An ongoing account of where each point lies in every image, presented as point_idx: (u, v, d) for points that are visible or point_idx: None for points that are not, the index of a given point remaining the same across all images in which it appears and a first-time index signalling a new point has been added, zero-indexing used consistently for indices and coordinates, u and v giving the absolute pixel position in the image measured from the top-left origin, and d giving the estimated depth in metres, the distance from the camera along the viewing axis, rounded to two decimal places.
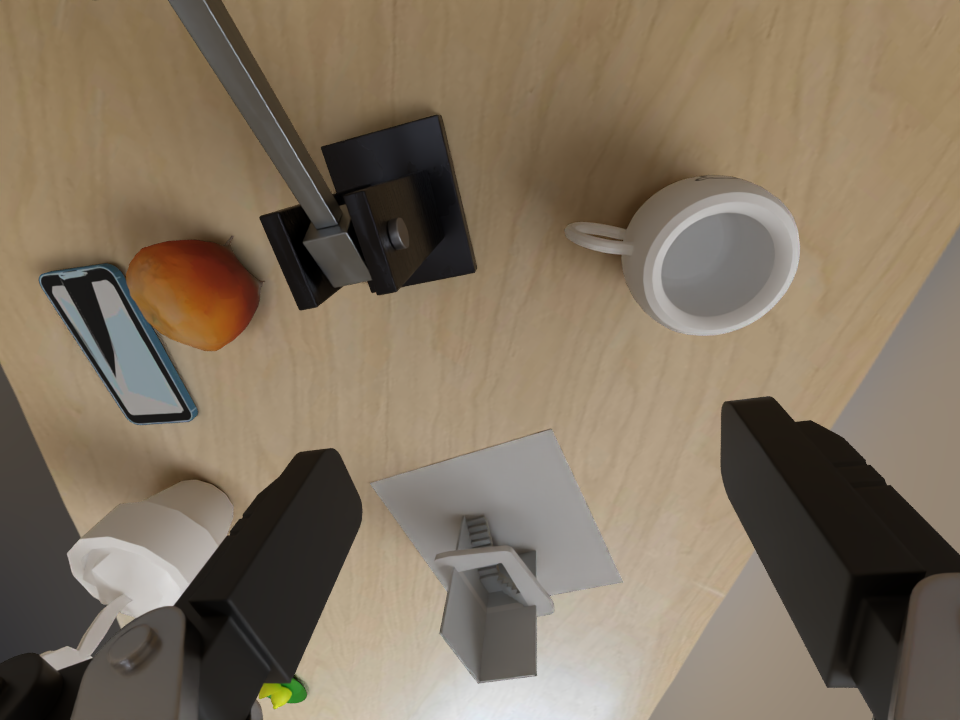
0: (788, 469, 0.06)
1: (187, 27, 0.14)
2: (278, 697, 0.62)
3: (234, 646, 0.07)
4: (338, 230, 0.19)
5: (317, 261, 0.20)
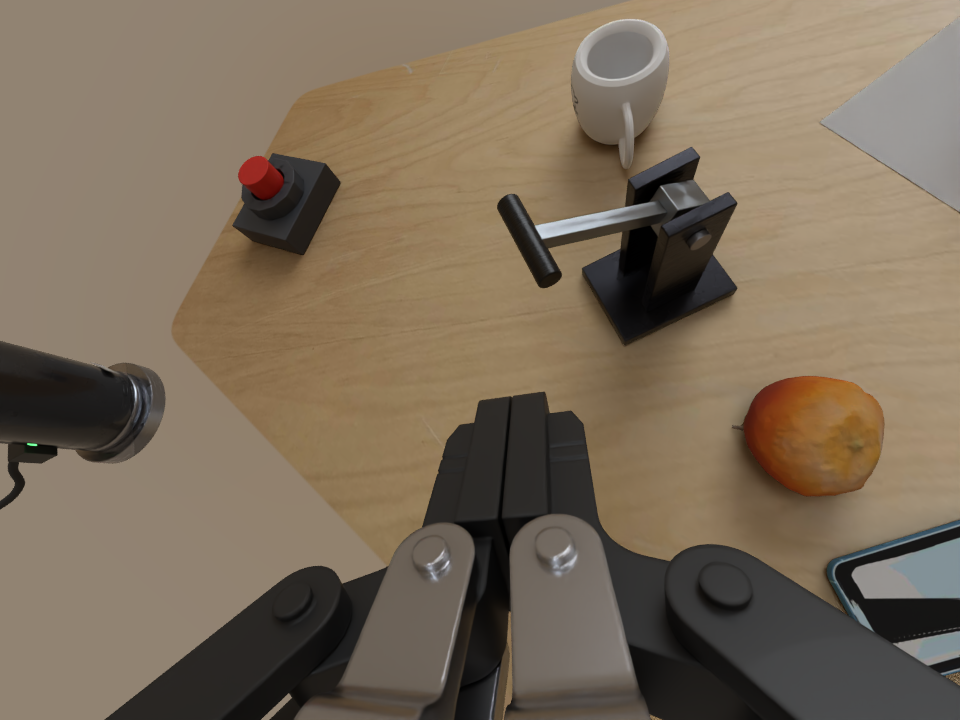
0: (515, 446, 0.08)
1: (563, 236, 0.25)
2: None
3: (495, 567, 0.07)
4: (661, 193, 0.28)
5: (691, 205, 0.27)
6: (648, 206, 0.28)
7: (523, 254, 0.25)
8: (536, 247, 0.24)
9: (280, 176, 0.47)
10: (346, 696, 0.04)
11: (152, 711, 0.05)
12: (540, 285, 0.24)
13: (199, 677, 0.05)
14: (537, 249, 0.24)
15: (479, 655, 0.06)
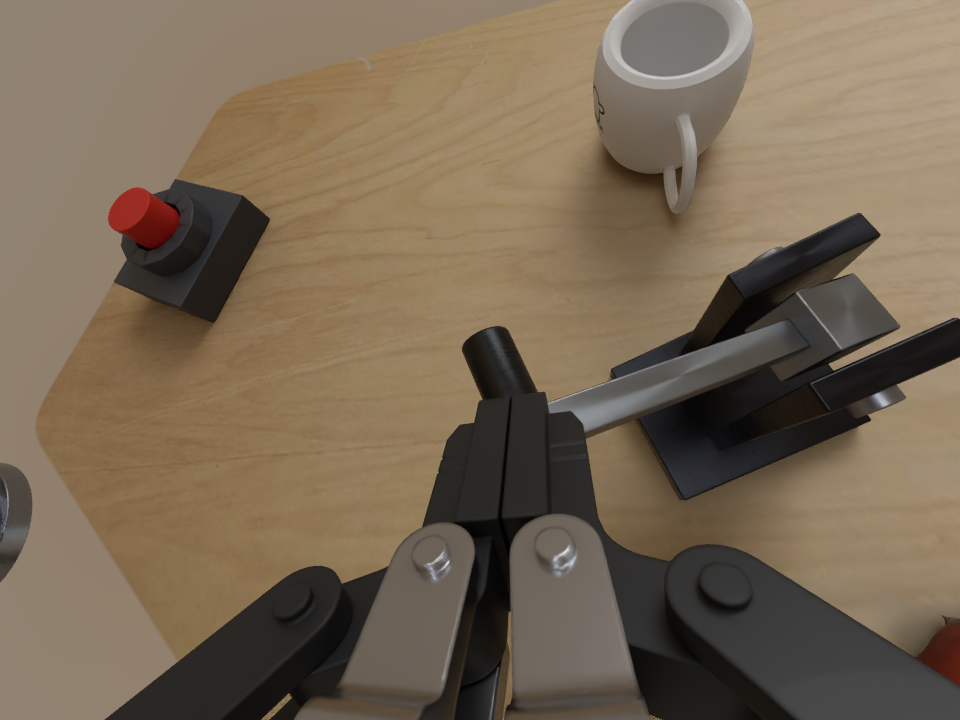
0: (515, 446, 0.08)
1: (606, 426, 0.11)
2: None
3: (496, 567, 0.07)
4: (797, 307, 0.14)
5: (864, 337, 0.13)
6: (772, 334, 0.14)
7: None
8: None
9: (173, 215, 0.33)
10: (347, 695, 0.04)
11: (151, 711, 0.05)
12: None
13: (198, 677, 0.05)
14: None
15: (479, 655, 0.06)
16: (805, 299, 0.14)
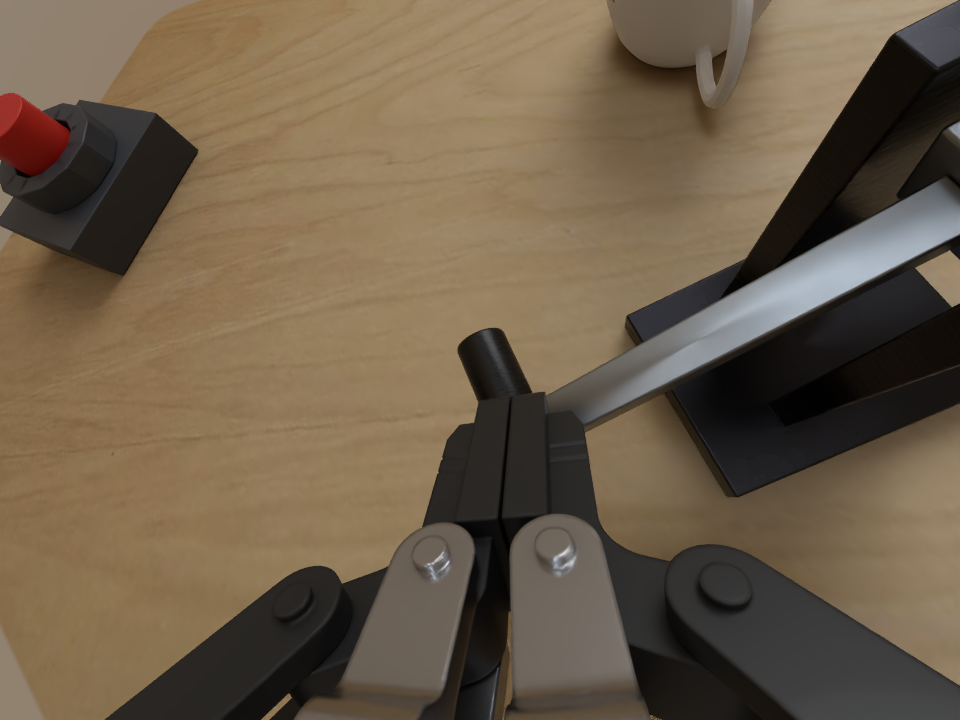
0: (515, 446, 0.08)
1: (596, 421, 0.10)
2: None
3: (496, 567, 0.07)
4: (954, 155, 0.07)
5: None
6: (895, 222, 0.08)
7: None
8: None
9: (61, 133, 0.26)
10: (345, 696, 0.04)
11: (152, 711, 0.05)
12: None
13: (199, 677, 0.05)
14: None
15: (479, 655, 0.06)
16: None
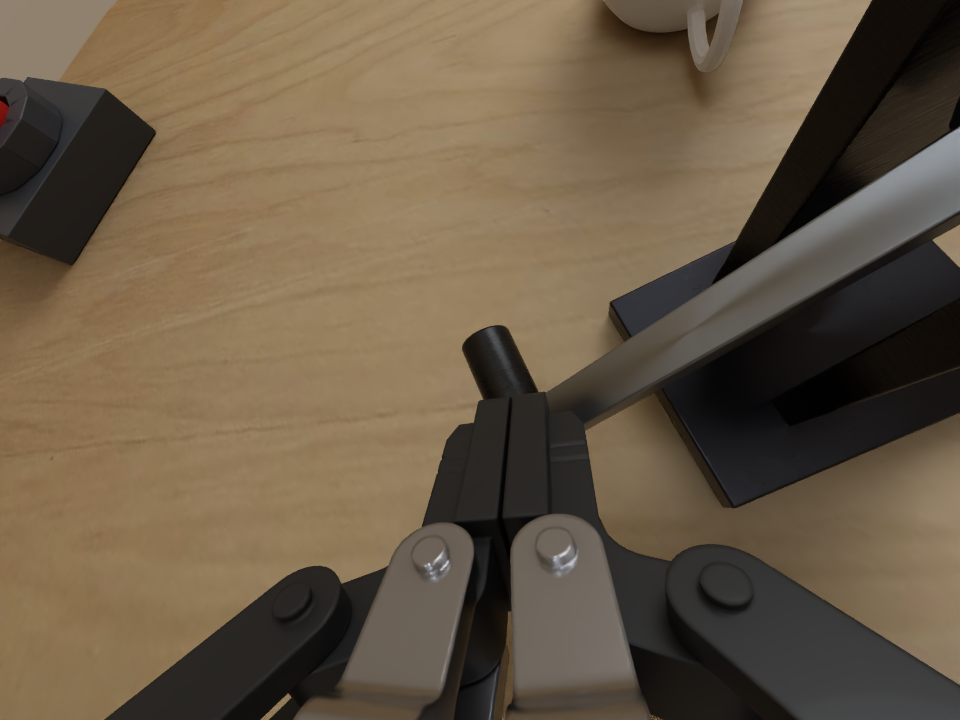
0: (515, 446, 0.08)
1: (593, 420, 0.10)
2: None
3: (495, 566, 0.07)
4: None
5: None
6: (923, 173, 0.06)
7: None
8: None
9: None
10: (346, 695, 0.04)
11: (151, 711, 0.05)
12: None
13: (198, 677, 0.05)
14: None
15: (478, 655, 0.06)
16: None
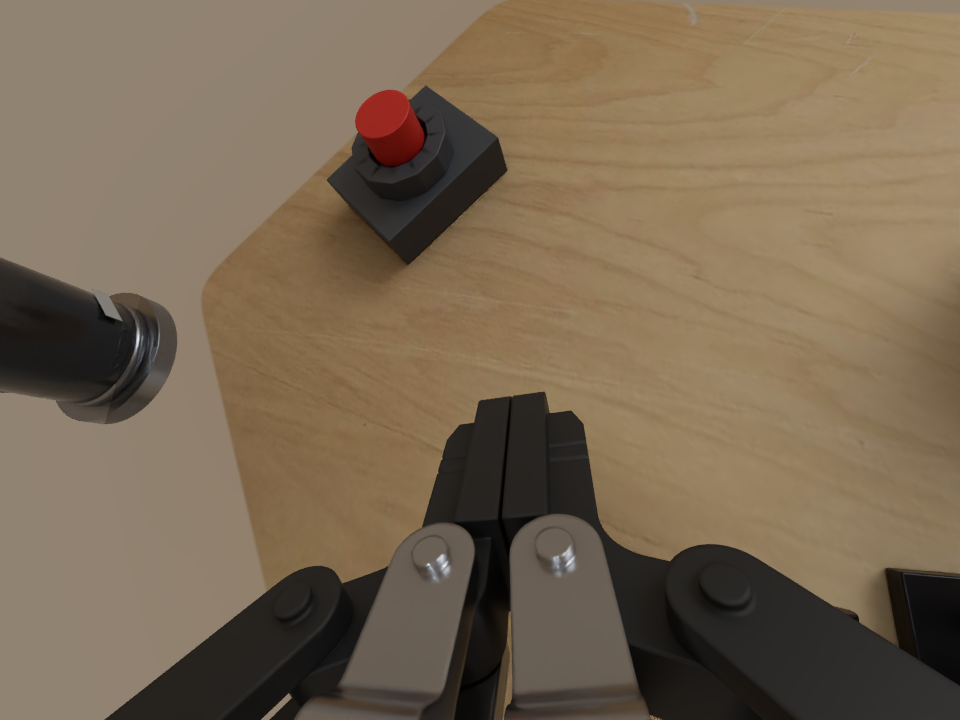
0: (515, 447, 0.08)
1: None
2: None
3: (496, 567, 0.07)
4: None
5: None
6: None
7: None
8: None
9: (420, 136, 0.28)
10: (346, 697, 0.04)
11: (152, 711, 0.05)
12: None
13: (199, 677, 0.05)
14: None
15: (479, 655, 0.06)
16: None
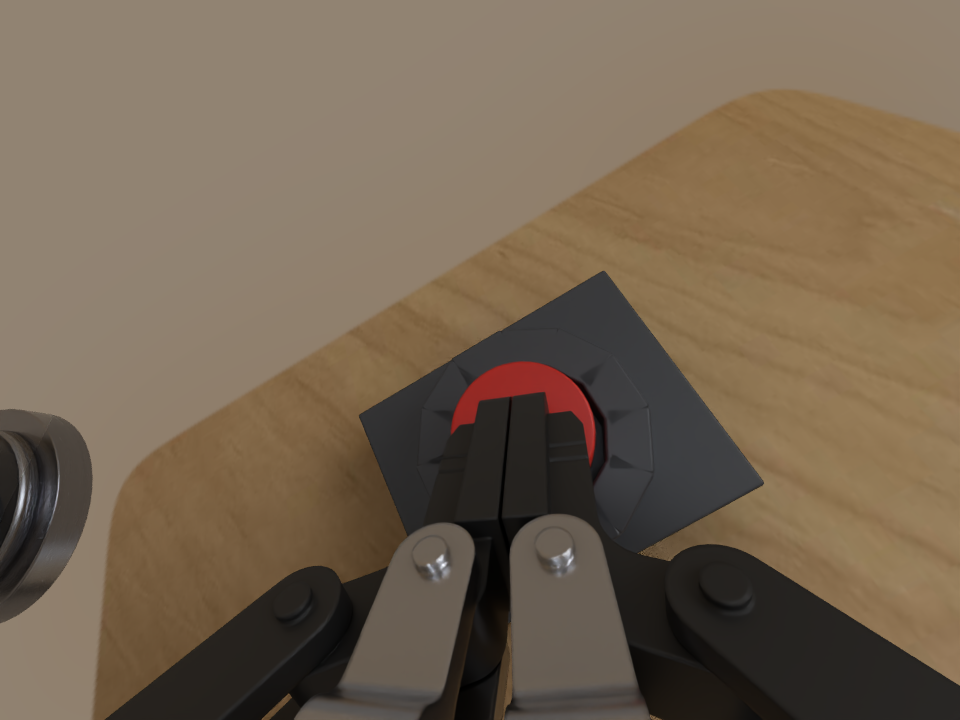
0: (515, 446, 0.08)
1: None
2: None
3: (496, 567, 0.07)
4: None
5: None
6: None
7: None
8: None
9: (590, 465, 0.12)
10: (345, 696, 0.04)
11: (152, 711, 0.05)
12: None
13: (199, 677, 0.05)
14: None
15: (479, 655, 0.06)
16: None
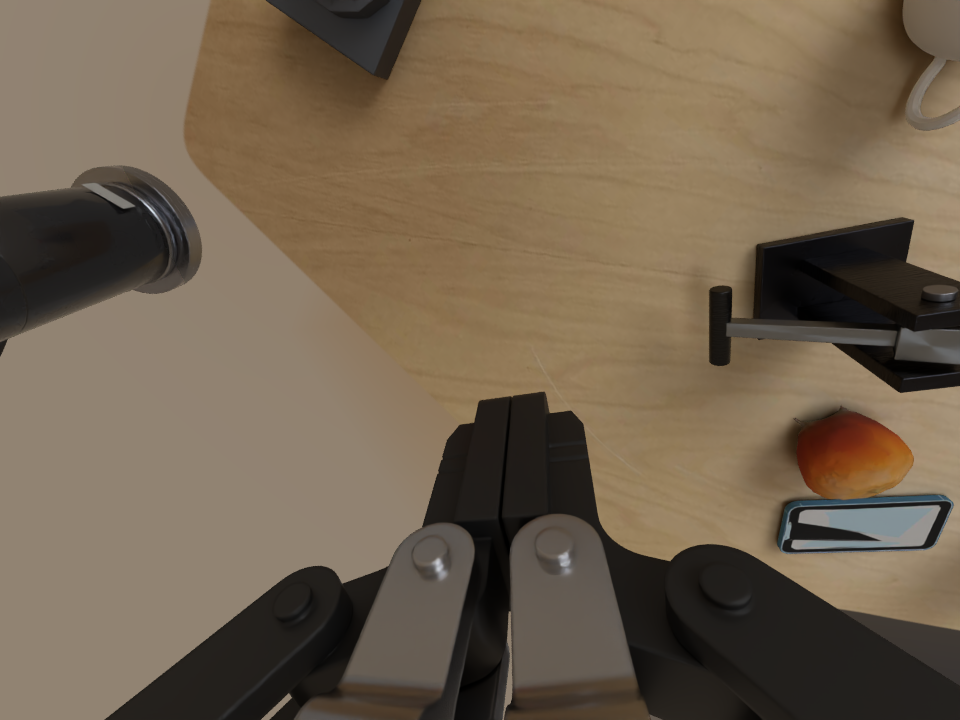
0: (515, 446, 0.08)
1: (749, 337, 0.31)
2: None
3: (496, 567, 0.07)
4: (899, 332, 0.26)
5: (920, 360, 0.26)
6: (874, 334, 0.27)
7: (709, 336, 0.33)
8: (714, 343, 0.33)
9: None
10: (346, 695, 0.04)
11: (152, 711, 0.05)
12: None
13: (198, 677, 0.05)
14: (715, 345, 0.33)
15: (479, 655, 0.06)
16: (903, 332, 0.25)
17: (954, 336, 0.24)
